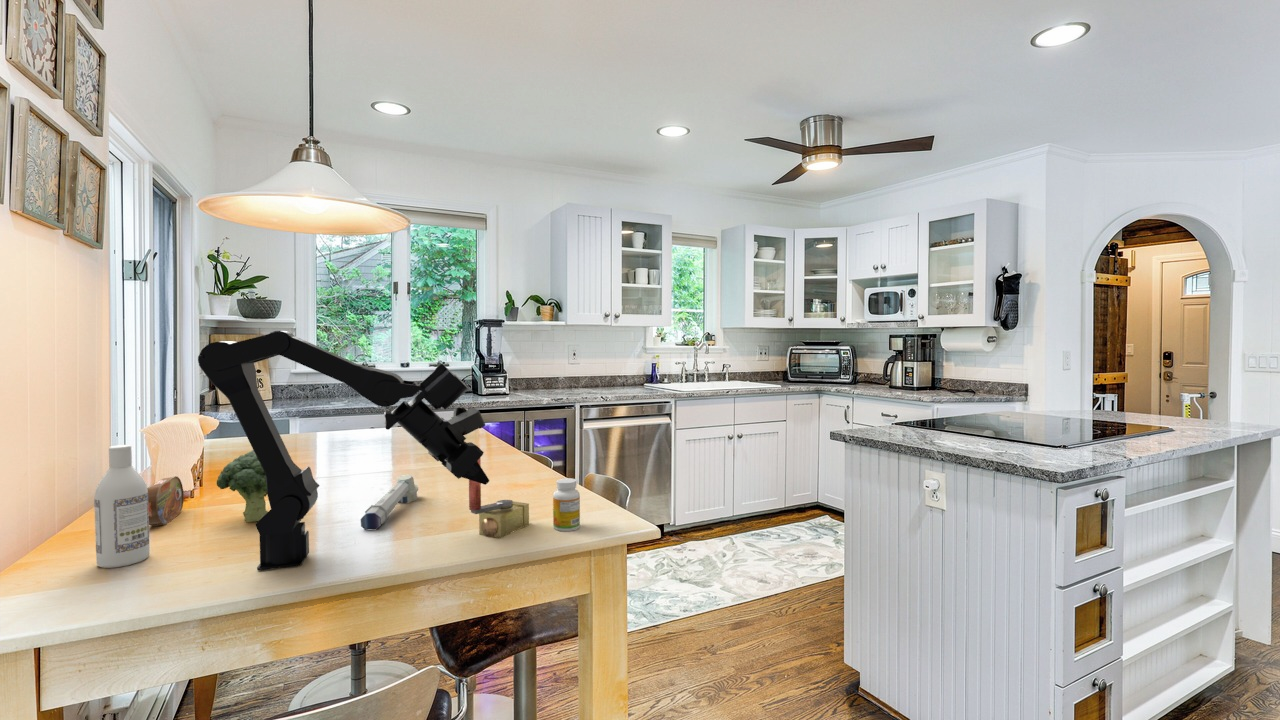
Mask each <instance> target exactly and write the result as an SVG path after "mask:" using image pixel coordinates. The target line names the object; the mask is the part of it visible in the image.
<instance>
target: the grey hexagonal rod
mask: <svg viewBox="0 0 1280 720" xmlns="http://www.w3.org/2000/svg"><path fill="white" fill-rule="evenodd" d="M418 491H419V487H418V485H417V484H415V480H414V477H413V475H412V474H409V473H406V474H402V475H399V476H398V477H397V478H396V484H395V485H394V486H392V488H391V489H390V490H389V491H388V492H387V493H385V494H384V495H383V496H381V498H380V499H379V500H378V501H376V503H375V504H371V505H370V506H369V507H368V508H367V509H366V510H365V511H364V513H365V514H364V515H363V516H362V517H361V518H360V527H361V528H362V529H363V530H364V531H367V530H366V529H376V530H377V529H378V528H380V526H381V524H382V525H383V524H385V523H386V522H387V520H388V519H389V515H390V514H391V512H392V511H393V510H394V509H395V508H396V507H397V505H398V504H408V503H407V502H409V503H411V502H412V501H413V500H415V501H417V499H418V493H417V492H418ZM413 502H414V501H413Z"/></svg>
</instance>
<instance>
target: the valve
mask: <svg viewBox="0 0 1280 720" xmlns="http://www.w3.org/2000/svg"><path fill="white" fill-rule="evenodd" d="M512 501H513V500H512ZM478 515H479V517H478V518H479V520H478V522H479V523H478V527H479V529H478V530H479V533H478V534H479V535H481V536H485V537H488V538H496V537H497V538H496V539H502V538H504V537H506V536H508V535H510V534H511V532H512V533H514V532H516V531H518V530H520V529H521V528H525V527H527V526H529V525H530V503H527V502H521V501H513V507H512V508H509V509H497V510H493V511H488V512H484V513H479V514H478ZM515 530H516V531H515ZM513 531H514V532H513Z"/></svg>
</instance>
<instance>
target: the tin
mask: <svg viewBox="0 0 1280 720" xmlns="http://www.w3.org/2000/svg"><path fill="white" fill-rule="evenodd" d="M183 487H184V486H183V483H182V481H181V479H180V477H179V476H172V477H164V478H161V479H160V480H158V481H156V482H155V483H153V484H152V485H150V486H147V489H148V509H149V527H150V526H151V527H153V526H154V527H155V526H161V525H162V526H163V525H164V526H165V525H168V524H169V523H171V522H172V520H174V519H175V518H176V517H178V516H179V515H180V514H181V512H182V511H183V506H184V499H185V498H184V497H185V496H184V488H183ZM167 523H168V524H167Z"/></svg>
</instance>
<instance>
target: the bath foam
mask: <svg viewBox="0 0 1280 720" xmlns="http://www.w3.org/2000/svg"><path fill="white" fill-rule="evenodd" d="M132 452H133V451H132V445H131V444H119V445H111V446H109V447H108V464H109V468H108V469H107V470H106V472H105V474H104V475H103V476H101V479H100V480H99V482H98V484H97V486H96V488H95V491H94V499H93V502H94V503H93V504H94V506H93V507H94V527H95V528H94V534H95V537H94V538H95V557H96V558H95V559H96V565H97V566H98V567H100V568H105V569H110V568H114V569H115V568H122V567H128V566H131V565H134V564H137V563H140V562H142V561H144V560H146V559H148V557H149V556H150V555H151V554H150V553H151V552H150V551H151V550H150V548H151V547H150V546H151V545H150V525H149V509H148V489H147V488H148V486H147V483H146V481H145V479H144V477H143V476H142V475H141V473H139V472H138V470H136V469H135V467H134V466H133V460H132V459H133V458H132V457H133V456H132V455H133V454H132Z"/></svg>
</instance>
